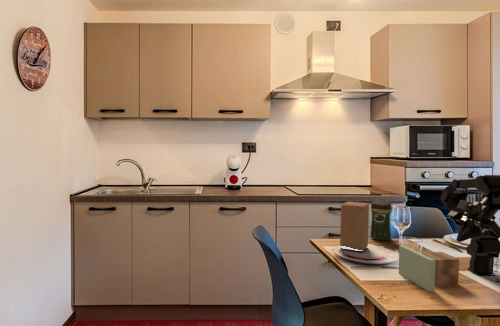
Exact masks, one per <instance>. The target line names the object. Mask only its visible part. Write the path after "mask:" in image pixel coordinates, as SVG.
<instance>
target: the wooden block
mask: <svg viewBox="0 0 500 326" xmlns="http://www.w3.org/2000/svg"><path fill="white" fill-rule="evenodd" d="M369 218H370V205H369V203H367V202H366V203H365V202H359V201H358V202H357V201H346V202H344V203H343V204H341V205H340V233H339V234H340V235H339V237H340V238H339V247H340V246H346V247H350V248H353V249H358V250H364V249H365V248H366V247H367V246H369V223H370V220H369ZM367 248H368V247H367ZM367 248H366V249H367ZM366 249H365V250H366ZM365 250H364V251H365Z"/></svg>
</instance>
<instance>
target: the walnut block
mask: <svg viewBox="0 0 500 326" xmlns="http://www.w3.org/2000/svg"><path fill="white" fill-rule="evenodd" d="M421 253H422V254H424V255H426V256H428V257H430V258H433V259H435V260H436V263H435V286H449V285H459V276H460V273H459V271H460V258H458V257H456V256H453V255H451V254H449V253H446V252H443V251H433V252H432V251H431V252H429V251H428V252H421Z"/></svg>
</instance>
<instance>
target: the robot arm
mask: <svg viewBox="0 0 500 326" xmlns="http://www.w3.org/2000/svg"><path fill="white" fill-rule="evenodd" d="M459 189H460V190H462V191H457V190H459ZM468 189H476V190H477V191H481V192H483V193H484V195H483V196H484V198H483V199H481V200H480V202H479V201H474V202H471V201H468V200H467V199H468V197H469V192H468ZM440 201H441V203H442V204H443V205H444V207H446V208H447V209H449V210H450V211H449V212H448V213H447V216H448V218H450V220H451V221H452V222H453V223H454V224H455V225H456V226H457V227H459V230H458V232H457V236H456V239H455V240H456V242H458V243H463V241H467V240H469V241H470V243H469V244H468V245H467V246H466V248H465V249H466V250H465V251H466V254H467V255H469V256H470V258H469V267H467V270H468V271H469V272H472V273H474V275H477V276H492V275H491V274H496V273H495V272H494V260H495V258H496V259H498V258H499V257H500V226H499V224H498V223H497V221H495V219H496V218H497V217H496V216H495V215H496V214H497V213H498V212H499V211H500V174H480V175H478V176H476V177H475V178H454V179H452V182H451V183H450V184H449V185H447V186H446V187H444V188H443V190H442V192H441V195H440Z"/></svg>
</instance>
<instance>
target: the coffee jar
mask: <svg viewBox="0 0 500 326" xmlns="http://www.w3.org/2000/svg"><path fill="white" fill-rule="evenodd" d="M370 211H371V223H370V230H369V231H370V232H369V233H370V234H369V237H370V238H371V239H372V240H377V241H390V240H391V238H392V230H391V213H392V211H393V210H392V203H391V202H390V201H383V200H372V202H371V204H370Z"/></svg>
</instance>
